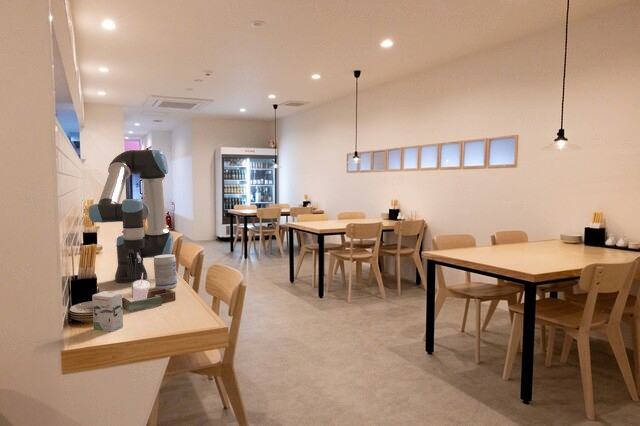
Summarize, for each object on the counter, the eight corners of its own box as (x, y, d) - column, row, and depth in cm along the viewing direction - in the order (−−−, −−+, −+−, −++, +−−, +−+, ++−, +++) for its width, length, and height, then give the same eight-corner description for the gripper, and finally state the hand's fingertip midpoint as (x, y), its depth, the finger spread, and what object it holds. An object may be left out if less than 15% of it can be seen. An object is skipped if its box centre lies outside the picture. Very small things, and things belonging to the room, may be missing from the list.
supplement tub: (179, 287, 197) (178, 256, 196) (158, 291, 192) (156, 258, 191) (174, 283, 205) (172, 253, 204) (153, 287, 200) (151, 255, 199)
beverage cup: (141, 309, 166) (144, 279, 161) (127, 304, 167) (130, 273, 162) (151, 302, 172) (154, 272, 167) (138, 297, 173) (140, 267, 168)
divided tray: (95, 305, 171) (95, 297, 170) (160, 293, 188) (160, 285, 187) (109, 316, 156) (109, 307, 156) (178, 301, 173) (178, 293, 173)
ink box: (92, 329, 142) (90, 294, 142) (105, 324, 147) (103, 290, 146) (112, 332, 139) (110, 296, 138) (124, 327, 144) (122, 292, 143)
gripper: (118, 237, 172) (121, 295, 174) (128, 240, 162) (131, 302, 164) (138, 235, 177) (140, 292, 179) (149, 239, 167) (151, 298, 169)
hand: (136, 296), depth 171 cm, fingers closed
